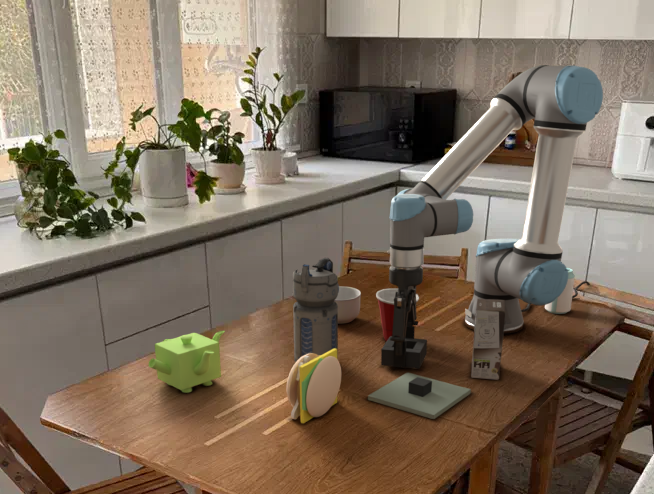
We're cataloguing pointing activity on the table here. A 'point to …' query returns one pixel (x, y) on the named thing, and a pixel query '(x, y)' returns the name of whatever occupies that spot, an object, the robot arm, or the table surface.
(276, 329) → the table surface
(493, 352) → the coffee box
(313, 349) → the beverage bottle
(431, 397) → the base pad
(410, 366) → the dark gray square ring
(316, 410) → the hamburger
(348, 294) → the teacup
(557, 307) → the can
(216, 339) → the kettle
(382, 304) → the plastic cup
